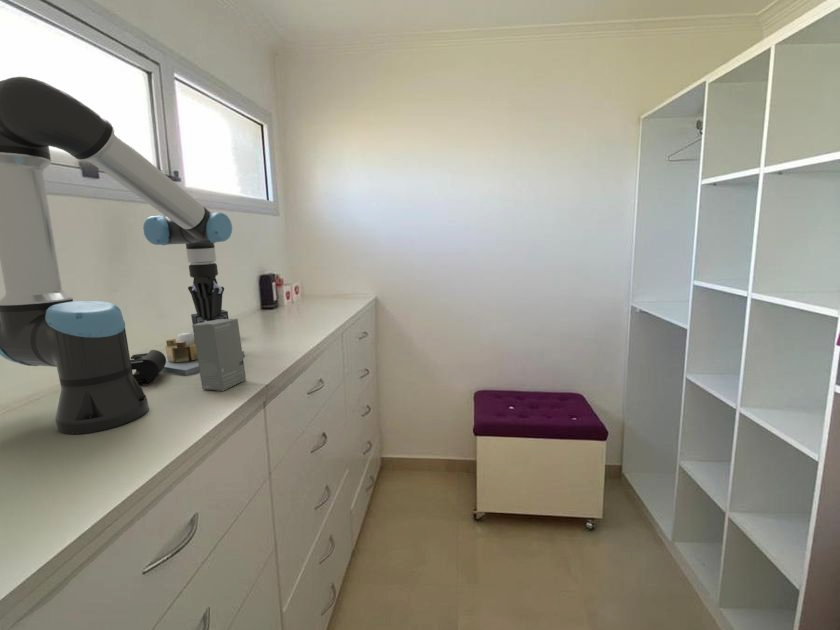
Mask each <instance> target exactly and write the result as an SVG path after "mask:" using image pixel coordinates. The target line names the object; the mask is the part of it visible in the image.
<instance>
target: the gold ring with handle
mask: <svg viewBox="0 0 840 630" xmlns="http://www.w3.org/2000/svg"><path fill="white" fill-rule="evenodd" d="M193 336H194V334H193ZM165 342H166V346H165V350H166V357H167V359H168V361H171V362H185V361H190V360H196V359H198V358H197V351H196V345H195V344H192V345H188V346H186V341H178V340H177V341H176V338H169V339H166V340H165ZM194 343H195V339H194Z"/></svg>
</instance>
